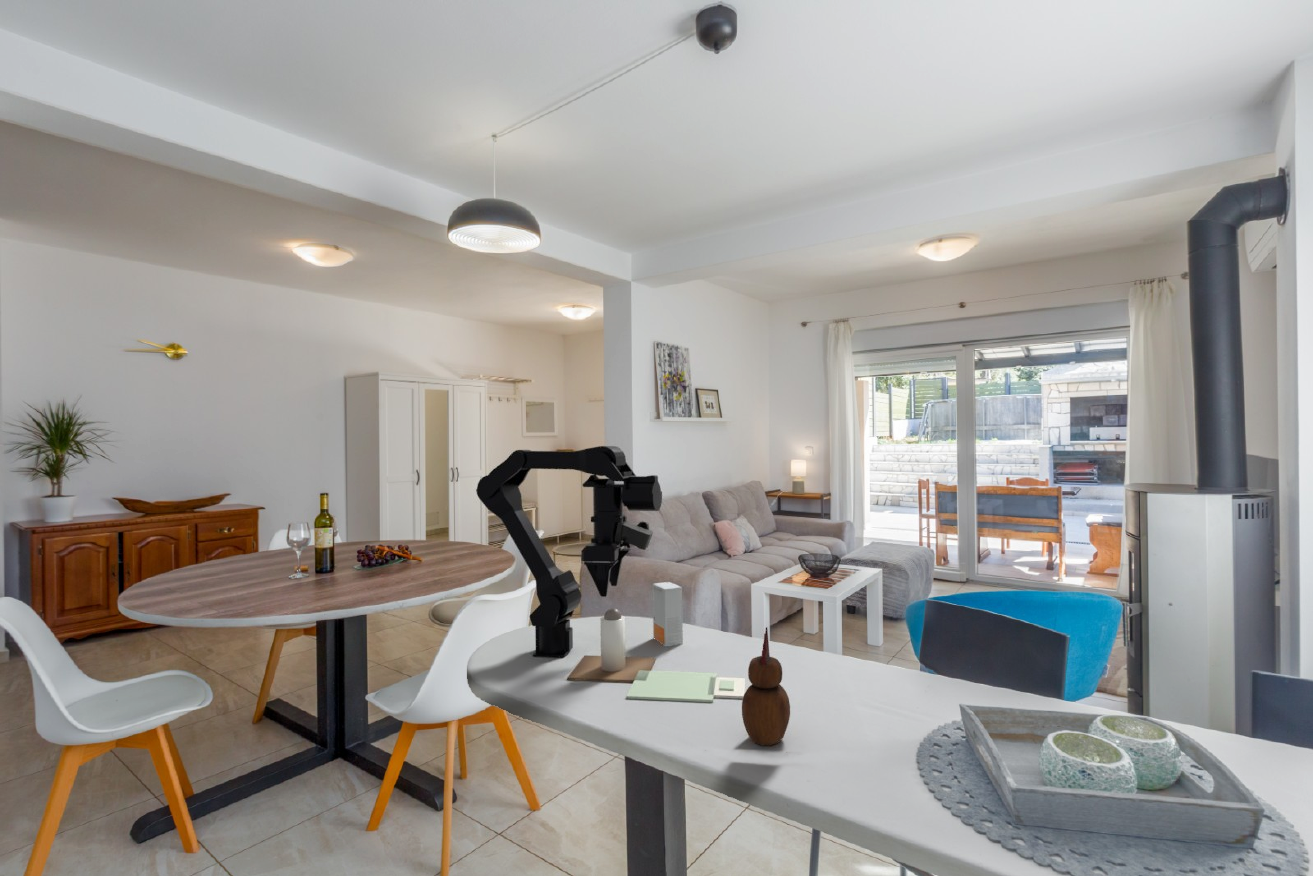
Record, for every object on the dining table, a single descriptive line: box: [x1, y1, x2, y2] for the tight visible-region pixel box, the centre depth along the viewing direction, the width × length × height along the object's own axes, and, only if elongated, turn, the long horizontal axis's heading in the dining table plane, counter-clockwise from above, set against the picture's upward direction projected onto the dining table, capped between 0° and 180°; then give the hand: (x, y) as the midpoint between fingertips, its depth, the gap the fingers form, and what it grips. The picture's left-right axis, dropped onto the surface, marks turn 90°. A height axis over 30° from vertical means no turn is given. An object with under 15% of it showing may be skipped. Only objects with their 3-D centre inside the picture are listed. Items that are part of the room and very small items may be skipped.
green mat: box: [626, 670, 718, 703], centre depth 107 cm, size 14×12×1 cm
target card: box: [708, 676, 746, 700], centre depth 106 cm, size 6×8×1 cm
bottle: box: [600, 607, 626, 672], centre depth 116 cm, size 4×4×11 cm
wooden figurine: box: [741, 626, 791, 746], centre depth 88 cm, size 7×6×15 cm
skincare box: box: [652, 581, 684, 647], centre depth 132 cm, size 6×4×12 cm
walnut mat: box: [566, 654, 657, 684], centre depth 116 cm, size 14×12×1 cm
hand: (609, 591), depth 123 cm, fingers open, 9 cm apart
